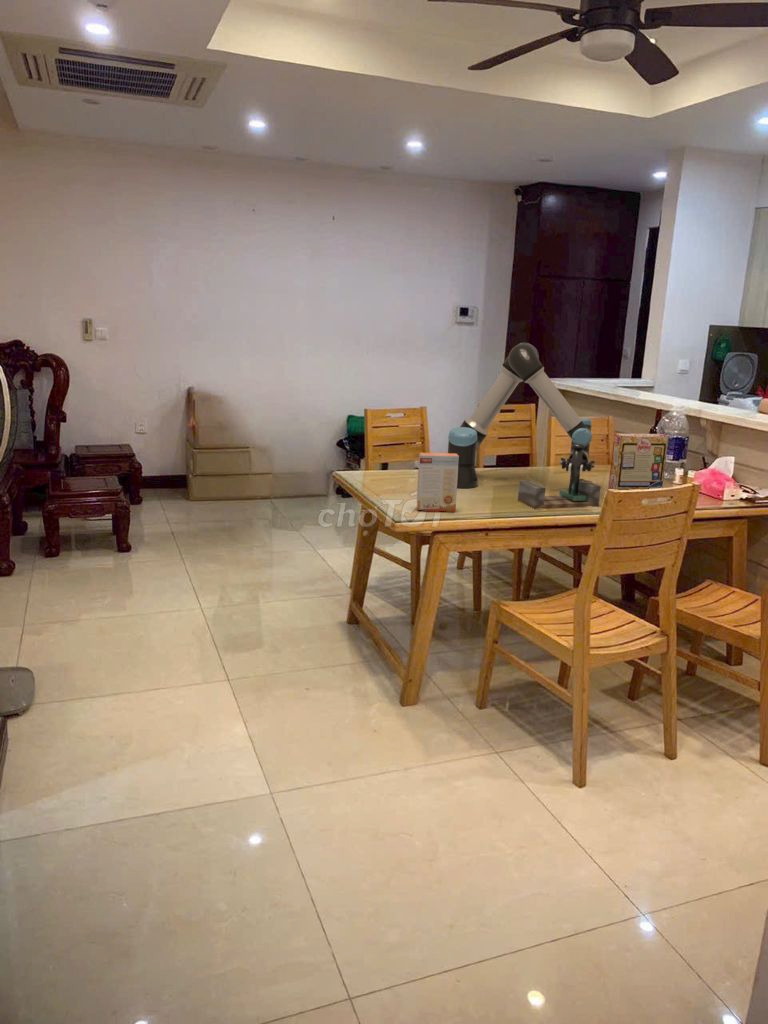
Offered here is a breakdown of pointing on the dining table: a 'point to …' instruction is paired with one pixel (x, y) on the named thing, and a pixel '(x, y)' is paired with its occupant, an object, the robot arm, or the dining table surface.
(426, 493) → the cracker box
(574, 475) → the green pole stand
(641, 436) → the board game box
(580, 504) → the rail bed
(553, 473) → the dining table surface
